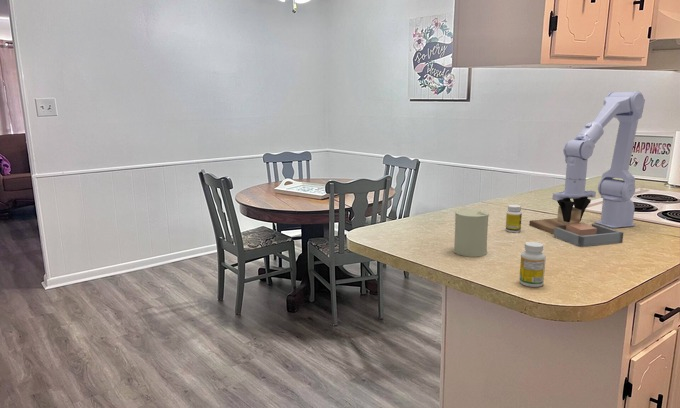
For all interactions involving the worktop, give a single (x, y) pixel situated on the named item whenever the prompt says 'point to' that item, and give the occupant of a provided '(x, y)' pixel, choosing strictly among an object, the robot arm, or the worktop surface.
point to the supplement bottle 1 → (513, 218)
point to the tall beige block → (574, 216)
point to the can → (471, 232)
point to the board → (547, 224)
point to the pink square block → (581, 229)
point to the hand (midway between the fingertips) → (572, 221)
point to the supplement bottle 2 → (532, 265)
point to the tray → (590, 236)
